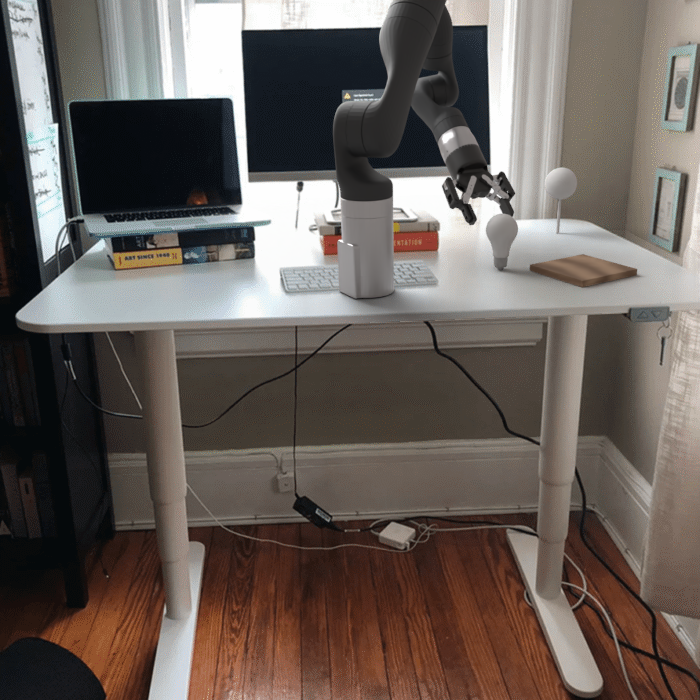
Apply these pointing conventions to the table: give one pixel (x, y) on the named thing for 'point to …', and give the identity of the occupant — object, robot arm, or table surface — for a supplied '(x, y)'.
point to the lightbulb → (501, 237)
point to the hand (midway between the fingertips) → (492, 220)
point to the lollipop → (560, 187)
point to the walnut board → (583, 270)
